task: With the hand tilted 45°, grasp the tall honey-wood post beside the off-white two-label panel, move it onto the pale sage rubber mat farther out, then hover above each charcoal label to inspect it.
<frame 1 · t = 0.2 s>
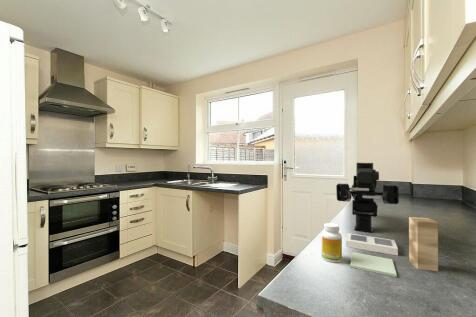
hand: (366, 197, 71), 17 cm above the countertop, tool horizontal, fingers open, 9 cm apart
label panel: (370, 246, 74), on the countertop
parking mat: (371, 264, 61), on the countertop
oak post: (423, 266, 60), on the countertop
supplement bottle: (331, 259, 64), on the countertop
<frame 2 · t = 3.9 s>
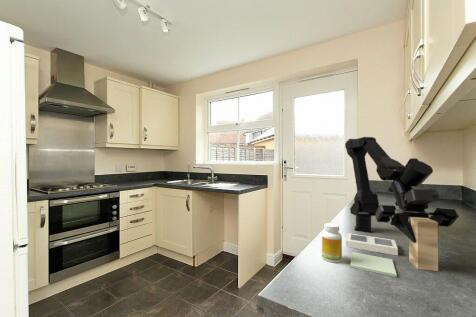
hand: (425, 243, 59), 7 cm above the countertop, tool tilted 45°, fingers closed on oak post, 4 cm apart
oak post: (423, 266, 60), on the countertop, touching gripper
everything else where it was.
when the fingers open (8 cm above the countertop, at t = 8.2 s): oak post drops 1 cm, resting on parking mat.
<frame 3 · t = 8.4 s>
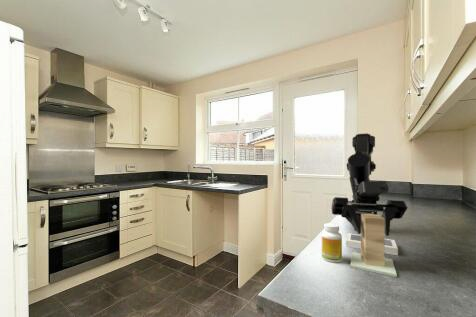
hand: (373, 234, 60), 9 cm above the countertop, tool tilted 45°, fingers open, 6 cm apart
oak post: (372, 262, 61), point 1 cm above the countertop, touching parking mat
everything else where it was.
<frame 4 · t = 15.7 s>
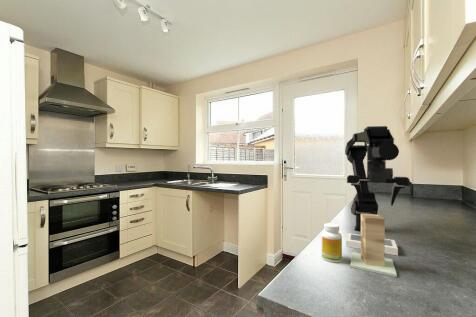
hand: (376, 204, 80), 13 cm above the countertop, tool pointing down, fingers open, 9 cm apart
nothing on the countertop moved.
at the end: oak post inside the target area on the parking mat (0.1 cm from its centre), point 0.6 cm above the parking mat's base; oak post tilted 0°; the gripper is holding nothing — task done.
